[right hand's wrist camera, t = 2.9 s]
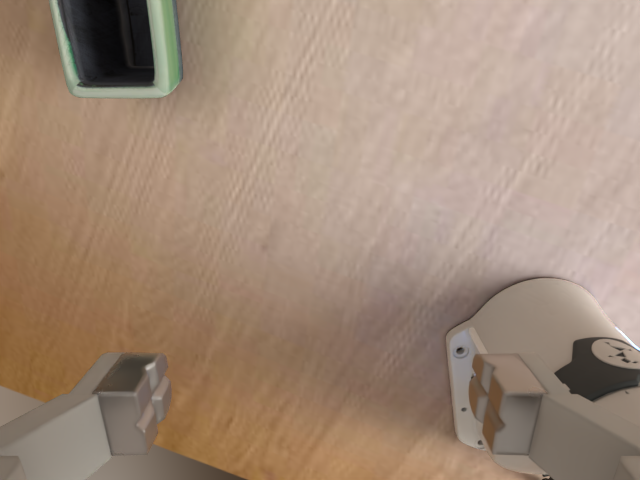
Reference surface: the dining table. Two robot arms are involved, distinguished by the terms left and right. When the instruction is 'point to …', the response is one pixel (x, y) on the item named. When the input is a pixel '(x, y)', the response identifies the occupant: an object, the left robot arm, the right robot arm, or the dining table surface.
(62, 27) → the planter
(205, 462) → the dining table surface
